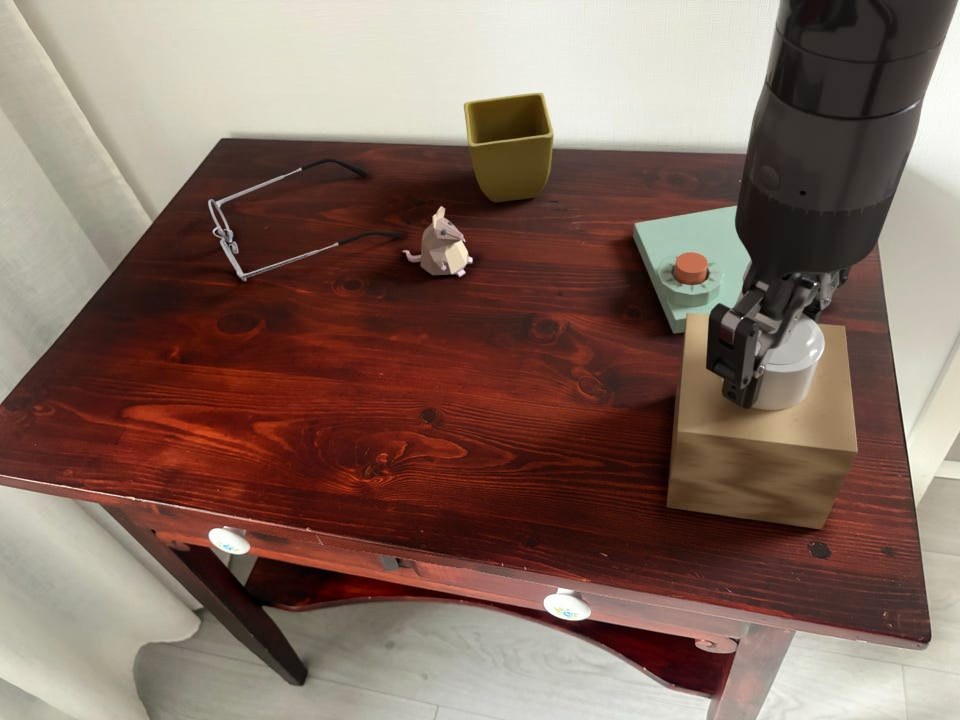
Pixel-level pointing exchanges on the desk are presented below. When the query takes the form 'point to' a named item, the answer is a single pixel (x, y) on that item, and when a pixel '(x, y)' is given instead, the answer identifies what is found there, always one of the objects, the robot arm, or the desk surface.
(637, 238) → the scale
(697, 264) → the button
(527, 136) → the flower pot
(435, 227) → the mouse figurine
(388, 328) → the desk surface
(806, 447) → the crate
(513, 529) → the desk surface
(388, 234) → the eyeglasses
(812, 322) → the ramekin
